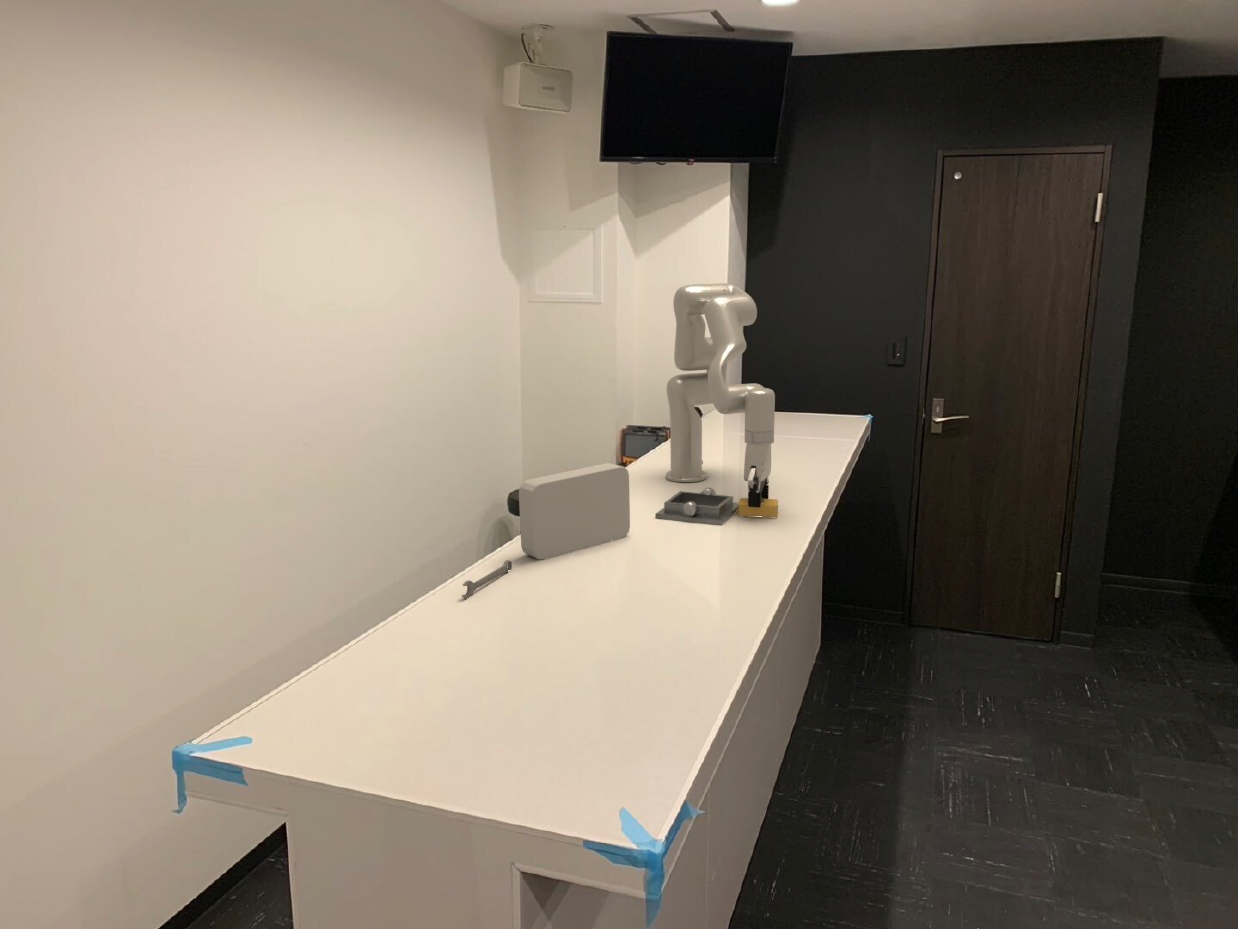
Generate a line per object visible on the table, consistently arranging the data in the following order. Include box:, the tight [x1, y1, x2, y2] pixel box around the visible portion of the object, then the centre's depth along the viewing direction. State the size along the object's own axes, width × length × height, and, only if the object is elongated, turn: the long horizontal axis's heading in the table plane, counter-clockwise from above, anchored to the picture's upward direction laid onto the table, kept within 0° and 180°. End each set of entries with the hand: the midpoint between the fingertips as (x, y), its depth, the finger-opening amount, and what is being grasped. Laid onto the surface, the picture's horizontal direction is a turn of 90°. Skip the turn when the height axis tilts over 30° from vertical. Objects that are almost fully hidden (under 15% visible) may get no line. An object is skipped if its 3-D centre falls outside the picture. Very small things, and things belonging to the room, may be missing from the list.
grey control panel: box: [518, 462, 631, 560], centre depth 223 cm, size 29×8×18 cm, turn 129°
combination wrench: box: [461, 559, 513, 600], centre depth 200 cm, size 4×1×20 cm
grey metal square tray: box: [655, 487, 739, 526], centre depth 248 cm, size 17×18×5 cm
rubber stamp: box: [737, 479, 779, 518], centre depth 245 cm, size 10×6×12 cm, turn 78°
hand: (758, 502), depth 246 cm, fingers open, 6 cm apart
